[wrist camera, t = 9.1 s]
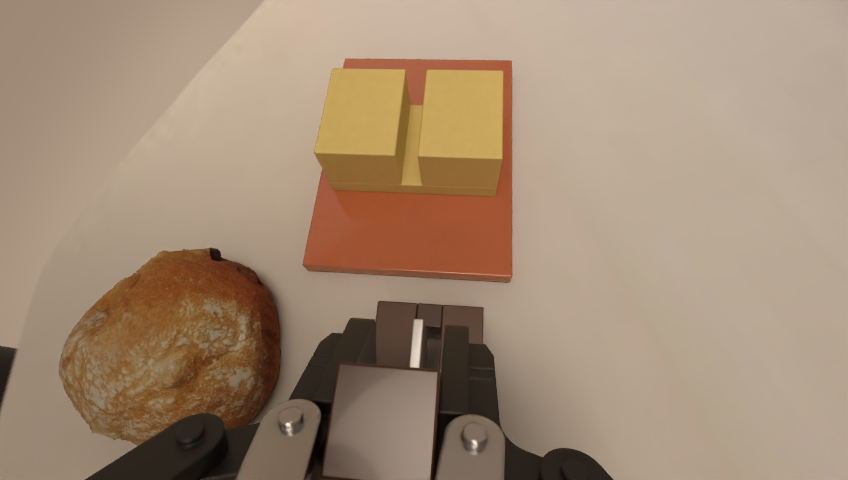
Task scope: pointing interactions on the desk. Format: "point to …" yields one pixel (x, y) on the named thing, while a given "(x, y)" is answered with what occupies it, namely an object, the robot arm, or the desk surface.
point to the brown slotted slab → (398, 325)
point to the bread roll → (174, 347)
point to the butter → (413, 132)
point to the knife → (384, 419)
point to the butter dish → (418, 210)
